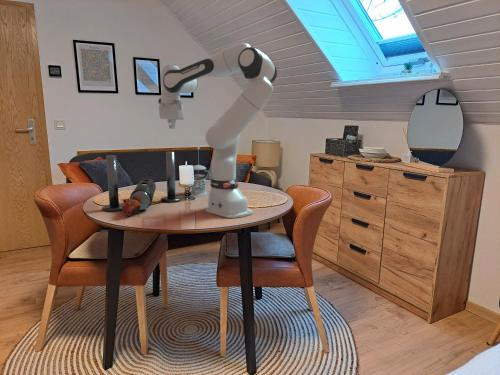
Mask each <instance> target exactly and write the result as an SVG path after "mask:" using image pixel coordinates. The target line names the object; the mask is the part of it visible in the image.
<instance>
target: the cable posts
mask: <svg viewBox="0 0 500 375" xmlns="http://www.w3.org/2000/svg"><path fill="white" fill-rule="evenodd" d="M105 158H106V172H107V186H108V188H107V189H108V201H109V203H108V204H106V205H103V206H102V211H103V212H106V213H117V212H123V210H122V207H123V205H124V204H123V203H120V200H119V198H120V197H119V184H118V183H119V181H118V168H117V167H118V166H117V155H113V154H111V155H106V157H105ZM165 160H166V161H165V163H166V166H165V167H166V168H165V169H166V196H163V197H161V198H160V201H161V200H162V201H163V202H162V201H161V202H162V203H167V204H172V203H173V204H174V203H179V202H181V201H182V199H183V198H182V196H178V195H176V164H175V163H176V161H175V151H166V152H165Z"/></svg>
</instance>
